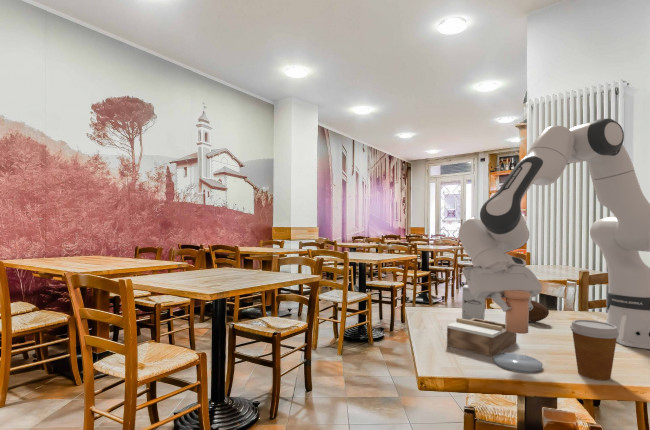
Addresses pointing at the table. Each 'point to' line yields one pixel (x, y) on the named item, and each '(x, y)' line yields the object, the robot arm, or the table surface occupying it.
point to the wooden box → (481, 340)
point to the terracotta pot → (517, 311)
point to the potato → (537, 312)
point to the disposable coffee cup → (594, 348)
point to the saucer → (518, 362)
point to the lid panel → (476, 327)
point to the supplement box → (472, 305)
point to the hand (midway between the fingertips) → (518, 310)
